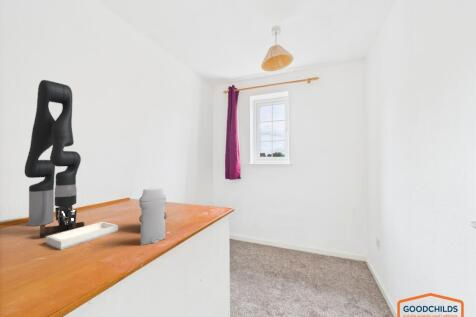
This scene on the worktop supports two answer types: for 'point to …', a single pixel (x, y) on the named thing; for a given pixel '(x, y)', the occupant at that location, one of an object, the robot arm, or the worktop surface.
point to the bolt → (57, 229)
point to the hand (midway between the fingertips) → (65, 231)
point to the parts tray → (80, 235)
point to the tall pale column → (152, 215)
